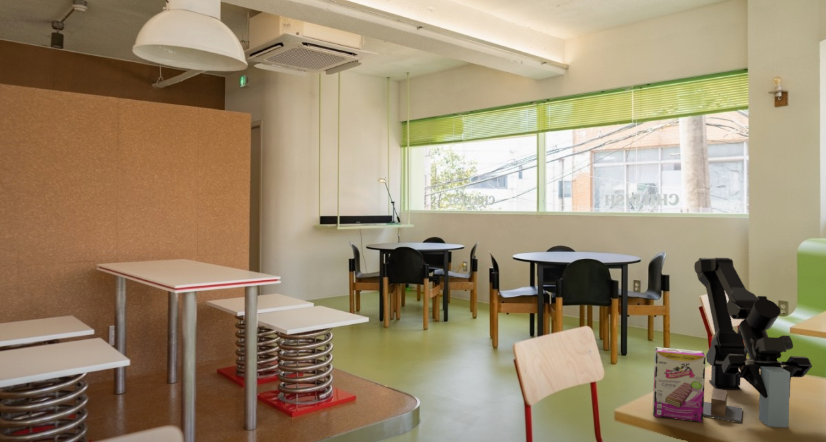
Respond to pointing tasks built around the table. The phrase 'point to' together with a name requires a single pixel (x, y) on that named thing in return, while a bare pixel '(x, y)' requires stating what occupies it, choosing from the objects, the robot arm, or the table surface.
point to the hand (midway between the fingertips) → (777, 397)
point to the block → (775, 397)
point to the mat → (730, 413)
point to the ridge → (719, 402)
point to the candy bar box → (679, 384)
